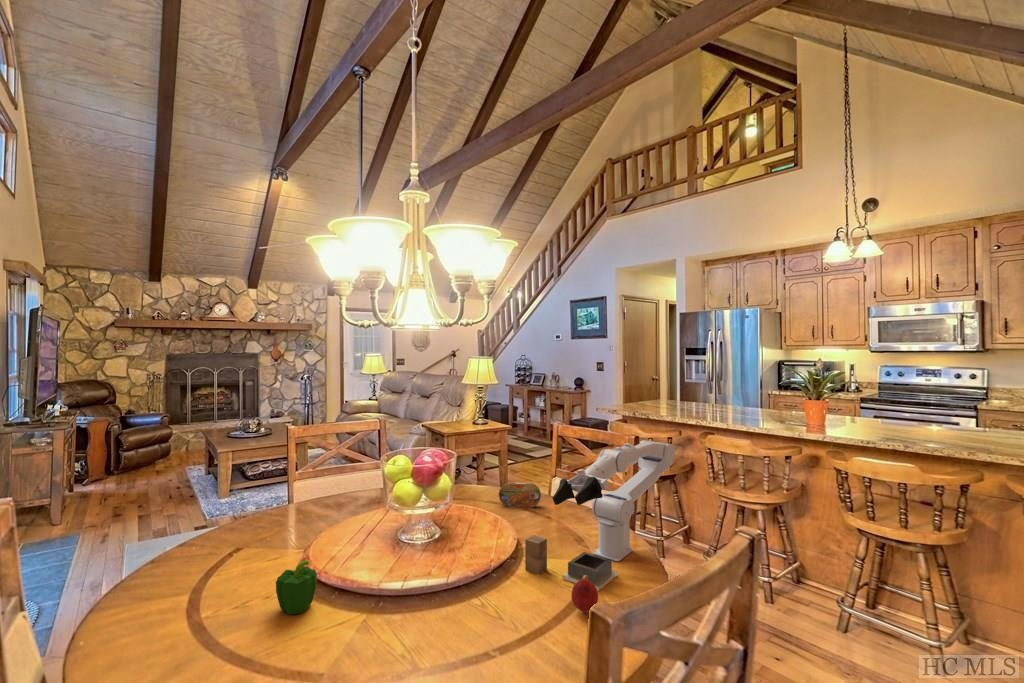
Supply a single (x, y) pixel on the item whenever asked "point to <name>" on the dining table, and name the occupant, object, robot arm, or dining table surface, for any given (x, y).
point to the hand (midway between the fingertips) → (565, 501)
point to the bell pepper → (296, 588)
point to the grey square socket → (590, 570)
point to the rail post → (536, 554)
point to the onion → (584, 594)
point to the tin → (520, 495)
